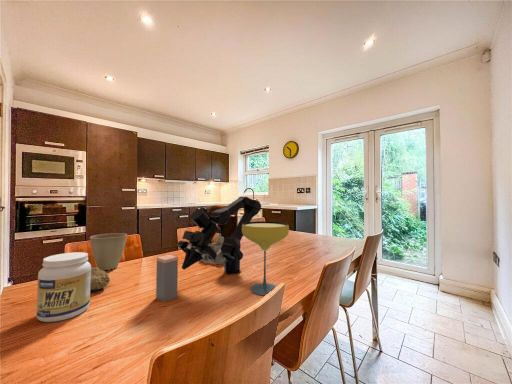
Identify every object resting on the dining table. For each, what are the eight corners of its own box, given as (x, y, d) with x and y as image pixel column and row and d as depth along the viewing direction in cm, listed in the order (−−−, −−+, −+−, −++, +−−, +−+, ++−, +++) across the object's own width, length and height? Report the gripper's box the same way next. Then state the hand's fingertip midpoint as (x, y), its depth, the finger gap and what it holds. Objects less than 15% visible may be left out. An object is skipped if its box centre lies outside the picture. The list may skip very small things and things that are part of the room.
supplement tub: (26, 328, 58) (28, 264, 59) (48, 307, 70) (49, 253, 70) (83, 318, 63) (84, 259, 64) (94, 300, 74) (96, 249, 75)
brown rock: (69, 285, 89) (60, 293, 73) (75, 265, 92) (67, 268, 76) (107, 284, 96) (107, 291, 80) (111, 266, 98) (112, 269, 82)
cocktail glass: (245, 279, 94) (246, 220, 95) (288, 281, 92) (288, 221, 92) (236, 298, 76) (237, 226, 77) (288, 302, 74) (289, 228, 74)
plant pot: (127, 270, 104) (128, 236, 105) (88, 276, 96) (88, 239, 96) (125, 262, 117) (125, 231, 117) (90, 266, 108) (90, 234, 109)
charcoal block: (169, 292, 80) (169, 254, 81) (177, 296, 77) (177, 256, 78) (156, 297, 76) (156, 257, 77) (164, 302, 73) (164, 260, 74)
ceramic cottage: (200, 256, 128) (202, 231, 127) (229, 257, 130) (230, 231, 129) (196, 266, 113) (198, 237, 112) (228, 267, 115) (230, 238, 114)
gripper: (181, 221, 92) (155, 252, 83) (211, 224, 81) (185, 261, 72) (196, 237, 99) (173, 268, 89) (226, 242, 87) (203, 278, 78)
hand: (182, 268), depth 82 cm, fingers closed
